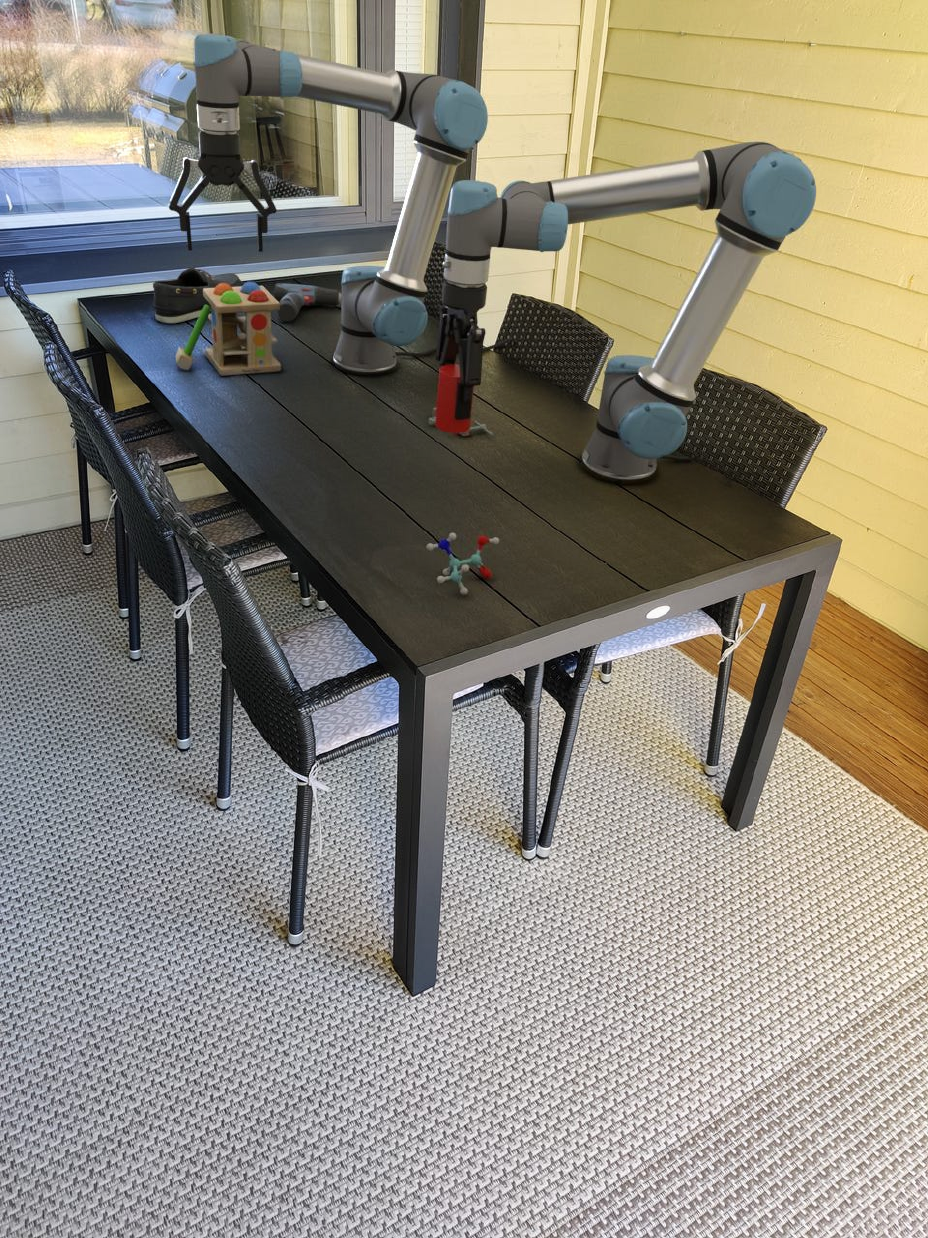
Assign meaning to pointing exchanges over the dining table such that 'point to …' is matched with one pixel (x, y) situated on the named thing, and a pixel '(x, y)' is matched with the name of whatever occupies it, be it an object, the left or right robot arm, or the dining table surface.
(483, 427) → the clamp
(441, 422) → the red cylinder
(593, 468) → the right robot arm
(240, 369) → the pounding bench toy
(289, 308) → the power drill
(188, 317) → the boat shoe
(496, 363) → the dining table surface
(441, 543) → the molecular model
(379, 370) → the left robot arm
